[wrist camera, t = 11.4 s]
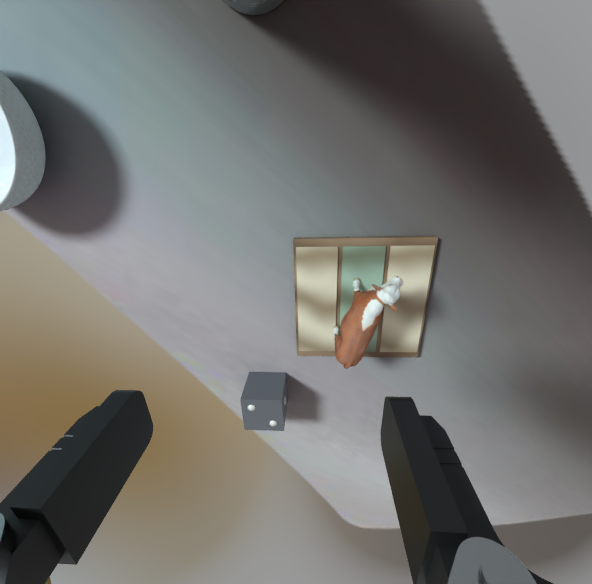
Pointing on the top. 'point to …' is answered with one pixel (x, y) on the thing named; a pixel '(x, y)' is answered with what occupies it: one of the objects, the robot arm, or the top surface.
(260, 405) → the die
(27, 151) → the cereal bowl
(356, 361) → the bull figurine
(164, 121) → the top surface
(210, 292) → the top surface
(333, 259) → the paneled room divider
